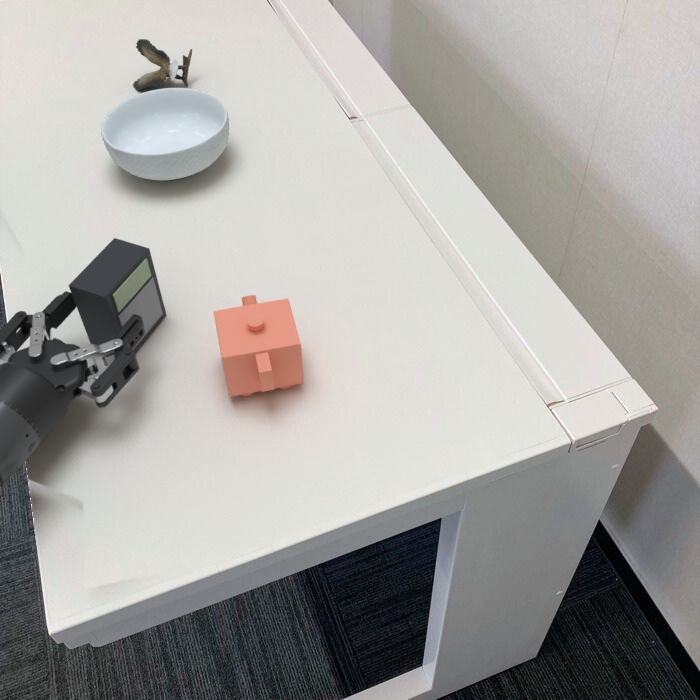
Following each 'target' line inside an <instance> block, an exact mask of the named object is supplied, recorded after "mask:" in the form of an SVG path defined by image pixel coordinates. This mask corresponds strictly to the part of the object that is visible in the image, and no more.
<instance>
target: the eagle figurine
mask: <svg viewBox="0 0 700 700" xmlns="http://www.w3.org/2000/svg"><path fill="white" fill-rule="evenodd" d="M135 48H136V49H137V51H138V52H139V53H140V55H141V56H143V57H144V58H146V60H147V61H148V62H150V63H151V64H153V65H156V66H158V67H160V68H159V69H158V70H155V71H151V72H147V73H145V74H143V75H142V76H140V78H137V80H135V81H134V82H133V83H132V87H134V89H135V90H137V91H138V90H140V91H141V90H144V89H146V88H149V87H158V86H161V85H163V84H164V83H165V81H167V78H169V77H170V78H169V79H170V81H171V82H173V81H174V80H175V79H176V80H179V81H182V83H183V85H184V86H185V88H188V86H189V84H188V77H189V76H188V75H189V69H190V65H191V60H192V56H193V48H190V49H189V52H188V53H187V56H186V55H184V54H183V55H182V64H181V65H180V64H179V63H178V61H177V59H174V60H173V61H172V62H171V59H170V56H169V55H168V54H167V53H166V52H165V51H164V50H162V49H158V48H156V46H154V44H153V43H152V42H151V41H150V39H149V40H148V39H145V38H139V39H138V40H137V41H136V45H135ZM179 70H181V71H182V74H181V75H179V74H178V72H179Z"/></svg>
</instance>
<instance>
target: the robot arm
mask: <svg viewBox="0 0 700 700" xmlns="http://www.w3.org/2000/svg"><path fill="white" fill-rule="evenodd" d="M76 309H77V306H76V304H75V301H74V299H73V296H72V293H71V291H66V290H65V291H63V292H62V294H58V295H57V296H55V297H54V298H53V300H51V301H50V303H49V304H48V305H47V306H46V307H45V308H43V310H42V311H38V312H35V313H34V314H27V312H26V311H24V310H19V311H17V312H16V313H14V314H13V316H11V318H10V319H9V320H8V321H7V322H6V324H5V325H4V326H3V327H2V328H1V329H0V488H1V487H2V486H3V485H4V484H5V483H6V482H7V481H8V480H9V479H10V478H12V476H13V475H14V474H15V473H17V471H18V470H20V469H21V467H22V466H23V465H24V464H26V462H27V461H28V459H29V458H30V457H31V456H32V455H33V453H34V452H35V451H36V450H37V449H38V447H39V446H40V445H41V444H42V443H43V441H44V440H45V439H46V438H47V437H48V436H49V434H51V432H52V431H53V430H54V428H55V427H56V426H57V425H58V424H59V422H60V421H61V420H62V419H63V418H64V416H65V415H66V413H67V411H68V408H69V407H70V404H71V403H72V401H74V400H75V399H77V398H79V397H81V396H82V395H83V396H85V397H87V398H89V399H92V400H94V402H95V405H96V407H98V408H106V407H107V406H108V405H109V404H110V403H111V402H112V400H114V399H115V397H116V396H117V395H118V394H119V393H120V392H121V391H122V389H123V388H124V387H125V386H126V385H127V384H128V383H129V382H130V381H131V379H132V378H133V377H134V376H135V375H136V374H137V373H138V372H139V371H140V365H139V362H138V359H137V356H136V353H135V352H134V350H133V348H134V347H135V346H136V344H137V343H138V342H139V341H140V340H141V338H142V337H143V336H144V334H145V329H144V323H143V320H142V317H141V316H139V315H136V314H133V315H132V316H131V317H130V319H129V320H128V321H127V322H126V323H125V324H124V326H123V327H122V328H121V329H120V330H119V331H118V333H117V334H116V335H115V336H114V338H115V339H113V340H111V341H108V342H105V343H103V344H100V345H97V344H91V343H89V344H87V345H84V346H82V347H81V346H79V345H76V344H74V343H73V344H72V343H65V342H64V341H63V340H62V339H59V338H56V337H53V338H52V335H53V334H52V332H53V331H52V329H55V330H57V329H58V328H59V327H60V326H61V325H62V324H63V323H64V322H65V320H66V319H67V318H68V317H70V315H71V314H72V313H73V312H74V311H75V310H76ZM27 340H29V346H27V347H25V348H22V349H20V348H21V347H22V346H23V345H24V343H26V341H27ZM19 349H20V350H19ZM110 353H113V355H110V356H105V355H108V354H110ZM88 359H93V361H94V363H93V364H92V365H91V366H89V363H88Z"/></svg>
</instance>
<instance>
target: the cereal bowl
mask: <svg viewBox="0 0 700 700" xmlns="http://www.w3.org/2000/svg"><path fill="white" fill-rule="evenodd" d="M100 134H101V137H102V141H103V144H104V146H105V149H106V151H107V152H108V154H109V156H110V157H111V159H112V160H113V161H114V163H115V164H116V165H117V166H118V167H119V168H121V169H122V170H123V171H125V172H127V173H129V174H131V175H132V176H135V177H138V178H141V179H145V180H151V181H152V180H153V181H171V180H172V181H174V180H179V179H183V178H187V177H190V176H194V175H196V174H198V173H200V172H202V171H204V170H205V169H207V168H209V167H210V166H211V165H212V164H214V163H215V162H216V161H217V160H218V159H219V157H220V156H221V155H222V154H223V152H224V150H225V149H226V147H227V145H228V141H229V137H230V136H229V135H230V118H229V112H228V110H227V107H226V106H225V104H224V103H223V102H222V100H220V99H219V98H218V97H216V96H215V95H213V94H212V93H208V92H206V91H202V90H200V89H194V88H188V87H165V88H164V87H163V88H158V89H157V88H156V89H152V90H148V91H144V92H141V93H138V94H135V95H133V96H131V97H128V98H126V99H124V100H123V101H121V102H119V103H117V104H116V105H114V107H112V108H111V109H110V110H109V111H108V112H107V113H106V114H105V116H104V117H103V119H102V121H101V123H100Z"/></svg>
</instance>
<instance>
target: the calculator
mask: <svg viewBox="0 0 700 700" xmlns="http://www.w3.org/2000/svg"><path fill="white" fill-rule="evenodd" d="M68 288H69V290H70V291H69V292H70V293H72V296H73V299H74V301H75V304H76V309H77V312H78V314H79V317H80V319H81V322H82V324H83V328H84V330H85V333H86V335H87V338H88V341H89V344H97V345H100V344H103V343H105V342H108V341H111V340H113V339H115V338H114V336H115V335H116V334H117V333H118V331H119V330H120V329H121V328H122V327H123V326H124V324H125V323H126V322H127V321H128V320H129V319H130V317H131V316H132V315H133V314H136V315H139V316H141V317H142V320H143V323H144V329H145V334H144V336H143V337H142V338H141V340H140V341H139V342H138V343H137V344H136V346H135V347H134V348H133V350H134V352H135V354H136V353H137V352H138V351H139V349H140V348H141V347H142V345H143V344H144V343H145V342H146V341H147V340H148V338H149V337H150V336H151V335H152V333H153V332H154V331H155V330H156V328H157V327H158V326H159V325H160V324H161V322H162V321H163V320H164V318H165V317H166V316H167V311H166V307H165V304H164V300H163V296H162V295H163V294H162V292H161V288H160V284H159V280H158V276H157V273H156V268H155V265H154V261H153V258H152V254H151V249H150V248H149V247H146V246H143V245H139V244H136V243H133V242H130V241H126V240H123V239H119V238H116V237H114V238H113V239H112V240H111V241H110V242H109V243H108V244H107V245H106V246H105V247H104V248H103V249H102V250H101V251H100V252H99V253H98V254H97V255H96V256H95V257H94V258H93V259H92V260H91V262H90V263H88V264H87V265H86V267H85V268H84V269H83V270H82V271H81V272H80V273H78V275H77V276H76V277H75V278H74V279H73V280H72V281H71V282H70V283H69V284H68ZM110 355H113V353H110V354H108V355H105V356H104V357H108V356H110Z"/></svg>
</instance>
